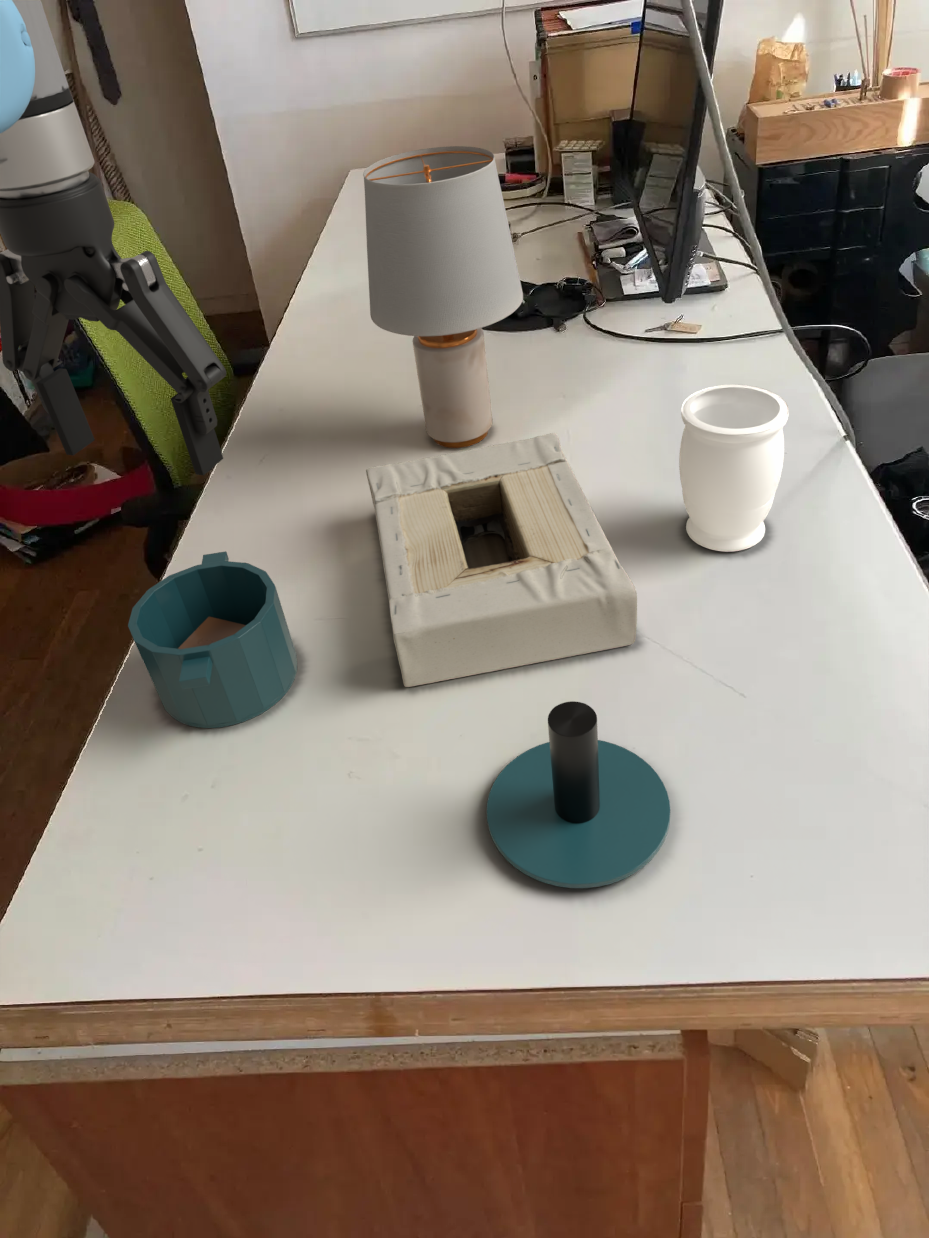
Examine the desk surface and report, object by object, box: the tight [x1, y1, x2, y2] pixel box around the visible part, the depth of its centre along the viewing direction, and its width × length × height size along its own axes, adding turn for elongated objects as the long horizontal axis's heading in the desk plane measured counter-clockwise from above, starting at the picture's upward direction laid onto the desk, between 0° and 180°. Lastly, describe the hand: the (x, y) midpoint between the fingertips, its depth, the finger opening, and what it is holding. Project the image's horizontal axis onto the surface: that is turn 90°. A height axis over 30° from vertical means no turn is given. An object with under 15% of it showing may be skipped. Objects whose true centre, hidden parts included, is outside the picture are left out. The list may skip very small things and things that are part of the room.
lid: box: [486, 700, 671, 889], centre depth 72 cm, size 15×15×11 cm
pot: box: [127, 550, 298, 729], centre depth 90 cm, size 14×19×10 cm
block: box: [178, 617, 246, 649], centre depth 91 cm, size 5×5×5 cm
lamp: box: [362, 145, 524, 449], centre depth 115 cm, size 19×19×34 cm
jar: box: [678, 384, 789, 553], centre depth 97 cm, size 11×10×15 cm
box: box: [365, 432, 638, 688], centre depth 99 cm, size 23×8×32 cm
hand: (143, 457), depth 76 cm, fingers open, 13 cm apart
